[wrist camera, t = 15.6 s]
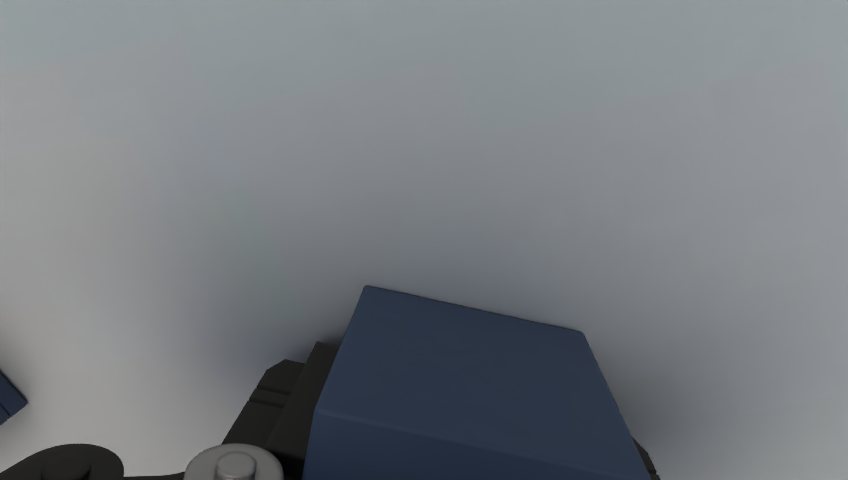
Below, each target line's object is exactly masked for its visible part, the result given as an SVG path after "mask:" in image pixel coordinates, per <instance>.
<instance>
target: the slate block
mask: <svg viewBox="0 0 848 480" xmlns="http://www.w3.org/2000/svg"><path fill="white" fill-rule="evenodd" d="M302 480H651V477H650V475H649V473H648V471H647V469H646V467H645V464H644V462H643V460H642V458H641V456H640V454H639V452H638V449H637V447H636V445H635V443H634V441H633V439H632V437H631V435H630V432H629V430H628V428H627V426H626V424H625V422H624V420H623V417H622V415H621V413H620V411H619V409H618V407H617V405H616V402H615V400H614V398H613V396H612V394H611V392H610V390H609V387H608V385H607V383H606V381H605V379H604V377H603V375H602V373H601V370H600V368H599V366H598V364H597V362H596V360H595V358H594V355H593V353H592V351H591V349H590V347H589V345H588V343H587V340H586V338H585V336H584V334H583V333H581V332H577V331H573V330H568V329H564V328H559V327H554V326H550V325H545V324H540V323H536V322H531V321H527V320H522V319H517V318H513V317H508V316H504V315H499V314H494V313H490V312H485V311H481V310H476V309H471V308H467V307H462V306H458V305H453V304H448V303H444V302H439V301H435V300H430V299H425V298H421V297H416V296H411V295H407V294H402V293H398V292H393V291H388V290H384V289H379V288H375V287H370V286H365V287H364V288H363V291H362V293H361V296H360V298H359V301H358V303H357V306H356V308H355V311H354V313H353V316H352V318H351V321H350V323H349V326H348V328H347V331H346V333H345V335H344V338H343V340H342V343H341V345H340V348H339V350H338V353H337V355H336V358H335V360H334V363H333V365H332V368H331V370H330V373H329V375H328V378H327V380H326V382H325V385H324V387H323V390H322V392H321V395H320V397H319V400H318V402H317V405H316V407H315V410H314V415H313V420H312V426H311V431H310V437H309V442H308V448H307V453H306V459H305V464H304V470H303V475H302Z"/></svg>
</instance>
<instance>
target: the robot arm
mask: <svg viewBox="0 0 848 480" xmlns="http://www.w3.org/2000/svg"><path fill="white" fill-rule="evenodd" d="M339 348H340V346H338V345H334V344H329V343H324V342H320V341H317V342H316V343H315V345H314V347H313V349H312V351H311V353H310V355H309V357H308V359H307V361H306V363H305V364H304V363H300V362H295V361H290V360H286V359H284V360H283V361H281V362H279V363H278V364H276V365H274V366H273V367H271V368H269V369H267V370H266V372H265V373H264V375H263V377H262V378H261V380H260V382H259V383H258V385H257V388H255V390H254V391H253V393H252V395H251V396H250V398H249V401H247V403H246V405H245V406H244V408H243V409H242V411H241V413H240V414H239V416H238V418H237V419H236V421H235V423H234V424H233V426H232V428H231V429H230V431H229V432H228V434H227V436H226V437H225V439H224V441H223V442H222V444H221V445H218V446H214V447H211V448H209V449H206V450H204V451H203V452H201V453H199V454H198V455H197V456H195V457H194V458H193V459H192V460H191V461H190V462H189V464H188V466H187V468H186V470H185V472H181V473H177V474H172V475H163V476H136V477H123V476H124V467H123V464H122V461H121V460H120V458H119V457H118V456H117V455H116V454H115V453H113V452H112V451H110V450H108V449H106V448H103V447H100V446H96V445H91V444H66V445H60V446H55V447H51V448H48V449H45V450H42V451H39V452H37V453H35V454H33V455H31V456H29V457H27V458H25V459H24V460H22V461H20V462H18V463H17V464H15V465H13V466H12V467H10V468H8V469H7V470H5V471H3V472H1V473H0V480H302V475H303V470H304V464H305V459H306V453H307V448H308V442H309V437H310V431H311V426H312V420H313V415H314V410H315V407H316V405H317V402H318V400H319V397H320V395H321V392H322V390H323V387H324V385H325V382H326V380H327V378H328V375H329V373H330V370H331V368H332V365H333V363H334V360H335V358H336V355H337V353H338V350H339ZM631 437H632V436H631ZM632 439H633V441H634V443H635V445H636V447H637V449H638V452H639V454H640V456H641V458H642V460H643V462H644V464H645V467H646V469H647V471H648V473H649V475H650V477H651V480H661V479H660V477H659V475H656V472H657V471H656V469H655V467H654V465H653V463H652V461H651V459H650V457H649V455H648V453H647V452H646V451H645V450H644V449H643V448H642V447H641V446H640V445H639V443H638V442H637V441H636V440H635V439H634V438H633V437H632Z"/></svg>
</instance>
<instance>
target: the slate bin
mask: <svg viewBox="0 0 848 480" xmlns="http://www.w3.org/2000/svg"><path fill="white" fill-rule="evenodd" d="M26 404H27V403H26V401H25V400H24V399H23V398H22V397H21V396H20V395H19V393H18V392H17V391H16V390H15V389H14V388H13V387H12V386H11V385H10V384H9V382H8V381H7V380H6V379H5V378H4V377H3V376H2V375H1V374H0V426H1V425H2V424H3V423H4V422H5V421H7V419H9V418H10V417H12V416H13V415H14V414H16V413H17V412H18V411H19V410H21V409H22V408H23V407H24V406H25V405H26Z"/></svg>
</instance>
